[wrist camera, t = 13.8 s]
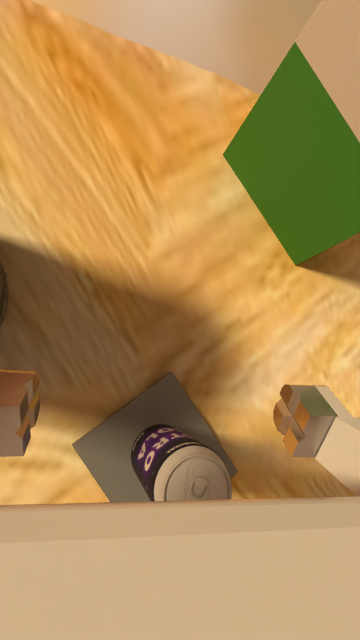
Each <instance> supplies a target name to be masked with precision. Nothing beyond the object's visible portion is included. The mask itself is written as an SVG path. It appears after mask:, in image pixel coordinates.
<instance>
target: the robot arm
mask: <svg viewBox="0 0 360 640" xmlns="http://www.w3.org/2000/svg"><path fill="white" fill-rule="evenodd" d="M38 385H39V374H38V373H37V372H31V371H16V370H0V457H6V456H24V454H25V451H26V448H27V446H28V443H29V440H30V438H31V436H30V429H31V428H32V427H34V426H35V424H36V421H37V418H38V413H39V408H40V394H39V393H38V392H37V391H36V390H37V387H38ZM280 395H281V398H282V399H281V400H279V401H278V402H277V403H276V405H275V408H274V411H273V419H274V423H275V426H276V428H277V430H278V431H279V432H281V433H282V434H283V435H285V436H284V440H283V441H284V443H285V445H286V447H287V449H288V451H289V452H290V454H291V456H292V457H315V459H316V460H317V461H318V462H319V463H320V464H321V465H322V466H324V467H325V468H326V469H327V470H328V471H329V472H330V473H331V474H332V475H333V476H335V477H336V478H337V479H338V480H339V481H340V482H341V483H342V484H343V485H344V486H346V487H347V488H348V489H349V490H350V491H351V492H352V493H353V494H354V495H355V497H314V498H271V499H229V500H189V501H148V502H107V503H66V504H25V505H0V640H360V419H359V418H357V417H353V416H352V415H351V414H350V412H349V411H348V410H347V409H346V408H345V406H344V405H343V404H342V403H341V402H340V401H339V399H338V398H337V397H336V396H335V395H334V393H333V392H332V391H331V390H330V389H329V388H328V387H326V386H325V385H311V386H310V385H287V384H285V385H284V386H283V387H282V389H281V391H280Z"/></svg>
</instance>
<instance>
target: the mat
mask: <svg viewBox="0 0 360 640" xmlns="http://www.w3.org/2000/svg"><path fill="white" fill-rule="evenodd" d="M157 424H165V425H169V426H172V427H173V428H175V429H177V430H179V431H181V432H182V433H184V434H186V435H188V436H189V437H191V438H193V439H195V440H196V441H198V442H200V443H202V444H204V445H205V446H207V447H209V448H211V449H212V450H214V451H215V452H216V453H217V454H218V455H219V456H220V457H221V459H222V460H223V462H224V464H225V466H226V469H227V472H228V474H229V477H230V479H231V478H232V477H233V476H234V475H235V474H236V473H237V472H238V471H237V469H236V468H235V466H234V465H233V463H232V462H231V460H230V459H229V457H228V456H227V454H226V453H225V451H224V450H223V448H222V447H221V445H220V444H219V442H218V441H217V439H216V437H215V436H214V434H213V433H212V431H211V430H210V428H209V427H208V425H207V424H206V422H205V421H204V419H203V418H202V416H201V415H200V413H199V412H198V410H197V409H196V407H195V406H194V404H193V403H192V401H191V400H190V398H189V397H188V395H187V394H186V392H185V391H184V389H183V388H182V386H181V385H180V383H179V382H178V380H177V378H176V377H175V375H174V374H173V372H170V373H169V374H167V375H166V376H165V377H163V378H162V379H160V380H159V381H158V382H156V383H155V384H154V385H152V386H151V387H149V388H148V389H147V390H145V391H144V392H143V393H141V394H140V395H139V396H137V397H136V398H134V399H133V400H132V401H130V402H129V403H128V404H126V405H125V406H124V407H122V408H121V409H119V410H118V411H117V412H115V413H114V414H113V415H111V416H110V417H108V418H107V419H106V420H104V421H103V422H102V423H100V424H99V425H98V426H96V427H95V428H93V429H92V430H91V431H89V432H88V433H87V434H85V435H84V436H83V437H81V438H80V439H78V440H77V441H76V442H74V443H73V444H72V446H73V447H74V449H75V450H76V452H77V453H78V455H79V456H80V458H81V459H82V461H83V462H84V463H85V465H86V466H87V468H88V469H89V471H90V472H91V474H92V475H93V477H94V478H95V480H96V481H97V483H98V484H99V486H100V487H101V489H102V490H103V492H104V493H105V495H106V496H107V498H108V499H109V501H110V502H148V501H150V499H149V497H148V495H147V493H146V492H145V490H144V488H143V486H142V484H141V483H140V481H139V479H138V477H137V475H136V473H135V472H134V470H133V467H132V463H131V451H132V447H133V444H134V442H135V440H136V438H137V437H138V436H139V434H140V433H141V432H142V431H144V430H145V429H146V428H148V427H150V426H153V425H157Z"/></svg>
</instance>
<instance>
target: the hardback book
mask: <svg viewBox="0 0 360 640" xmlns="http://www.w3.org/2000/svg"><path fill="white" fill-rule="evenodd" d="M223 156H224V157H225V159H226V160H227V162H228V163H229V165H230V166H231V168H232V169H233V171H234V172H235V174H236V175H237V177H238V178H239V180H240V182H241V183H242V185H243V186H244V188H245V189H246V191H247V192H248V194H249V195H250V197H251V198H252V200H253V201H254V203H255V204H256V206H257V207H258V209H259V210H260V212H261V214H262V215H263V217H264V218H265V220H266V221H267V223H268V224H269V226H270V227H271V229H272V230H273V232H274V233H275V235H276V236H277V238H278V239H279V241H280V243H281V244H282V246H283V247H284V249H285V250H286V252H287V253H288V255H289V256H290V258H291V259H292V261H293V262H294V264H295V265H298V264H299V263H301V262H303V261H305V260H307V259H309V258H311V257H313V256H315V255H317V254H319V253H321V252H323V251H325V250H327V249H329V248H330V247H332V246H334V245H336V244H338V243H340V242H342V241H344V240H346V239H348V238H350V237H352V236H354V235H356V234H358V233H359V232H360V0H321V2H320V4H319V5H318V7H317V8H316V10H315V11H314V13H313V15H312V16H311V18H310V19H309V21H308V22H307V24H306V26H305V27H304V29H303V30H302V32H301V33H300V35H299V36H298V38H297V40H296V41H295V43H294V44H293V46H292V48H291V49H290V50H289V52H288V54H287V55H286V57H285V58H284V60H283V62H282V63H281V65H280V66H279V68H278V69H277V71H276V72H275V74H274V75H273V77H272V79H271V80H270V82H269V83H268V85H267V86H266V88H265V90H264V91H263V93H262V94H261V96H260V97H259V99H258V100H257V102H256V104H255V105H254V107H253V108H252V110H251V111H250V113H249V115H248V116H247V118H246V119H245V121H244V122H243V124H242V125H241V127H240V129H239V130H238V132H237V133H236V135H235V136H234V138H233V140H232V141H231V143H230V144H229V146H228V147H227V149H226V150H225V152H224V154H223Z"/></svg>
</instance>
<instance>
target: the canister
mask: <svg viewBox="0 0 360 640" xmlns="http://www.w3.org/2000/svg"><path fill="white" fill-rule="evenodd" d="M7 301H8V285H7V279H6V274H5V272H4V269H3V267H2V265H1V262H0V325H1V323H2V321H3V318H4V314H5V311H6V307H7Z"/></svg>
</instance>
